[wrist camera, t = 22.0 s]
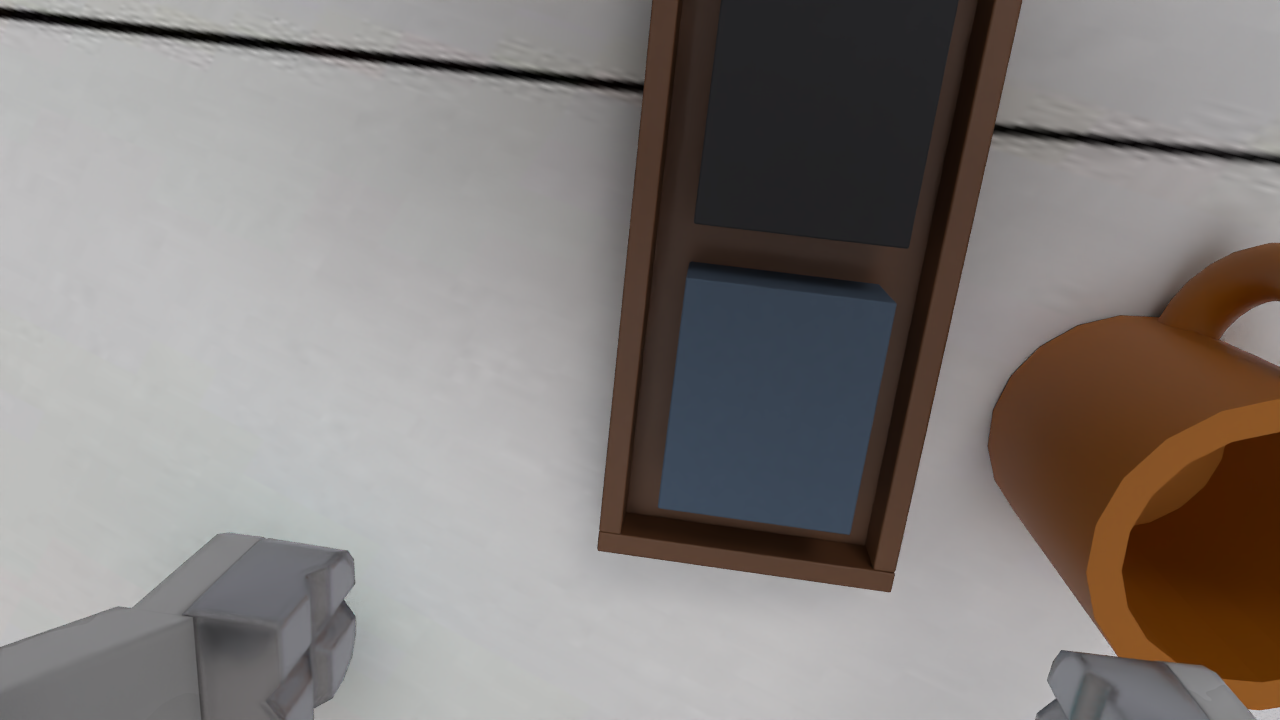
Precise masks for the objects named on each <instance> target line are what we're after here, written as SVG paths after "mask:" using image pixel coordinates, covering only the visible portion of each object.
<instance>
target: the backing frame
mask: <svg viewBox="0 0 1280 720" xmlns="http://www.w3.org/2000/svg"><path fill="white" fill-rule="evenodd" d="M720 4H721V0H652V10H651V20H650V30H649V40H648V50H647V60H646V70H645V80H644V90H643V100H642V110H641V120H640V130H639V139H638V149H637V159H636V169H635V179H634V189H633V199H632V209H631V219H630V229H629V239H628V249H627V259H626V269H625V279H624V289H623V298H622V308H621V318H620V328H619V338H618V348H617V358H616V368H615V378H614V388H613V398H612V408H611V418H610V428H609V438H608V448H607V457H606V467H605V477H604V487H603V497H602V507H601V517H600V527H599V530H600V531H599V537H598V547H597V549H598V551H604V552H611V553H618V554H625V555H632V556H639V557H646V558H653V559H660V560H667V561H674V562H681V563H688V564H695V565H702V566H709V567H716V568H723V569H730V570H737V571H744V572H751V573H758V574H765V575H772V576H779V577H786V578H793V579H800V580H807V581H814V582H821V583H828V584H835V585H842V586H849V587H856V588H863V589H870V590H877V591H884V592H891V589H892V585H893V580H894V576H895V573H894V572H895V570H896V566H897V561H898V557H899V552H900V548H901V543H902V539H903V534H904V530H905V525H906V521H907V516H908V512H909V507H910V503H911V499H912V494H913V490H914V485H915V481H916V476H917V472H918V467H919V463H920V458H921V454H922V449H923V445H924V440H925V436H926V431H927V427H928V422H929V418H930V413H931V409H932V404H933V400H934V395H935V391H936V386H937V382H938V377H939V373H940V368H941V364H942V359H943V355H944V350H945V346H946V341H947V337H948V332H949V328H950V323H951V319H952V314H953V310H954V305H955V301H956V296H957V292H958V287H959V283H960V278H961V274H962V269H963V265H964V260H965V256H966V251H967V247H968V242H969V238H970V234H971V229H972V225H973V220H974V216H975V211H976V207H977V202H978V198H979V193H980V189H981V184H982V180H983V175H984V171H985V166H986V162H987V157H988V153H989V148H990V144H991V139H992V135H993V130H994V126H995V121H996V117H997V112H998V108H999V103H1000V99H1001V94H1002V90H1003V85H1004V81H1005V76H1006V72H1007V67H1008V63H1009V58H1010V54H1011V49H1012V45H1013V40H1014V36H1015V31H1016V27H1017V22H1018V18H1019V13H1020V9H1021V4H1022V0H959V2H958V7H957V12H956V17H955V22H954V27H953V32H952V37H951V42H950V47H949V52H948V57H947V62H946V67H945V72H944V77H943V81H942V86H941V91H940V96H939V101H938V106H937V111H936V116H935V121H934V126H933V131H932V136H931V141H930V146H929V151H928V156H927V161H926V166H925V171H924V176H923V181H922V186H921V191H920V196H919V200H918V205H917V210H916V215H915V220H914V225H913V230H912V235H911V240H910V245H909V248H907V249H904V248H895V247H887V246H879V245H870V244H862V243H853V242H845V241H836V240H828V239H819V238H811V237H802V236H794V235H785V234H777V233H768V232H760V231H751V230H743V229H734V228H726V227H717V226H709V225H700V224H695V223H694V215H695V207H696V199H697V191H698V183H699V175H700V167H701V159H702V150H703V142H704V134H705V126H706V118H707V110H708V102H709V94H710V85H711V77H712V69H713V61H714V53H715V45H716V37H717V29H718V21H719V12H720ZM691 261H692V262H700V263H708V264H716V265H725V266H733V267H741V268H749V269H758V270H766V271H774V272H782V273H790V274H799V275H807V276H815V277H823V278H831V279H840V280H848V281H856V282H864V283H873V284H879V285H880V286H881V287H882V288H883V289H884V291H885V292H886V293H887V294H888V295H889V296H890V297H891V298H892V299H893V300H894V301H895V303H896V304H897V306H896V311H895V316H894V321H893V326H892V331H891V336H890V340H889V345H888V350H887V355H886V360H885V365H884V370H883V375H882V380H881V385H880V390H879V395H878V400H877V405H876V410H875V415H874V419H873V424H872V429H871V434H870V439H869V444H868V449H867V454H866V459H865V464H864V469H863V474H862V479H861V484H860V489H859V494H858V498H857V503H856V508H855V513H854V518H853V523H852V528H851V533H850V535H846V534H839V533H832V532H825V531H817V530H810V529H803V528H796V527H789V526H782V525H775V524H768V523H760V522H753V521H746V520H739V519H732V518H725V517H718V516H710V515H703V514H696V513H689V512H682V511H675V510H668V509H661V508H658V500H659V492H660V484H661V476H662V468H663V460H664V452H665V444H666V436H667V427H668V419H669V411H670V403H671V395H672V387H673V379H674V371H675V363H676V355H677V347H678V339H679V331H680V323H681V315H682V307H683V299H684V290H685V282H686V276H687V272H688V267H689V263H690V262H691Z"/></svg>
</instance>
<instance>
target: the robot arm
mask: <svg viewBox="0 0 1280 720" xmlns="http://www.w3.org/2000/svg"><path fill="white" fill-rule="evenodd" d="M354 585H355V571H354V558H353V557H352V556H351V554H350V553H349V552H348V551H347V550H340V549H334V548H328V547H321V546H315V545H309V544H303V543H296V542H290V541H284V540H277V539H271V538H268V539H266V538H264V537H259V536H252V535H244V534H236V533H222V534H217V535H216V536H215V537H213V538H212V539H211V540H210V541H209V542H208V543H206V544H205V545H204V546H203V547H202V548H201V549H200V550H198V551H197V552H196V553H195V554H194V555H193V556H191V557H190V558H189V559H188V560H187V561H186V562H184V563H183V564H182V565H181V566H180V567H179V568H178V569H176V570H175V571H174V572H173V573H172V574H171V575H169V576H168V577H167V578H166V579H165V580H164V581H162V582H161V583H160V584H159V585H158V586H157V587H156V588H154V589H153V590H152V591H151V592H150V593H149V594H147V595H146V596H145V597H144V598H143V599H142V600H140V601H139V602H138V603H137V604H136V605H135V606H134V607H132V608H126V607H115V608H112V609H109V610H106V611H103V612H100V613H97V614H95V615H92V616H89V617H86V618H83V619H80V620H77V621H74V622H71V623H69V624H66V625H63V626H60V627H57V628H54V629H51V630H48V631H45V632H43V633H40V634H37V635H34V636H31V637H28V638H25V639H22V640H19V641H17V642H14V643H11V644H8V645H5V646H2V647H0V720H314V708H316V707H317V706H319V705H321V704H323V703H325V702H327V701H328V700H330V699H332V698H333V697H334V695H335V693H336V692H337V690H338V688H339V687H340V685H341V684H342V682H343V680H344V678H345V675H346V672H347V669H348V666H349V664H350V661H351V658H352V655H353V648H354V641H355V635H356V616H355V615H354V614H353V612H352V611H351V609H350V608H349V607H348V605H347V604H346V602H345V601H344V598H345V597H346V596H347V594H348V593H349V591H350V590H351V589H352V587H353V586H354ZM1047 682H1048V684H1049V686H1050V687H1051V689H1052V691H1053V693H1054V695H1055V697H1056V699H1055V700H1053V701H1052V702H1051V703H1050V704H1048V705H1047V706H1046V707H1044V708H1043V709H1042V710H1040V711H1039V712H1038V713H1037V715H1036V719H1035V720H1257V719H1256V718H1255V717H1254V716H1253V715H1252V713H1251V712H1250V711H1249V710H1248V709H1247V708H1246V707H1245V705H1244V704H1243V703H1242V702H1241V701H1240V700H1239V698H1238V697H1237V696H1236V695H1235V694H1234V693H1233V692H1232V690H1231V689H1230V688H1229V687H1228V686H1227V685H1226V684H1225V682H1224V681H1223V680H1222V679H1221V678H1220V677H1219V675H1218V674H1217V673H1216V672H1214V671H1212V670H1210V669H1208V668H1206V667H1204V666H1203V665H1194V664H1184V663H1175V662H1165V661H1149V660H1141V659H1132V658H1124V657H1115V656H1107V655H1098V654H1090V653H1082V652H1073V651H1065V650H1061V651H1060V653H1059V654H1058V655H1057V657H1056V658H1055V659H1054V661H1053V663H1052V666H1051V669H1050V672H1049V675H1048V678H1047Z"/></svg>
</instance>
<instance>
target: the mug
mask: <svg viewBox="0 0 1280 720" xmlns="http://www.w3.org/2000/svg"><path fill="white" fill-rule="evenodd" d="M1271 301H1280V243H1268V244H1264V245H1260V246H1256V247H1252V248H1248V249H1244V250H1240V251H1237V252H1234V253H1232V254H1230V255H1228V256H1226V257H1224V258H1222V259H1220V260H1218V261H1216V262H1214V263H1212V264H1210V265H1209V266H1207V267H1206V268H1205V269H1203V270H1202V271H1201V272H1199V273H1198V274H1197V275H1196V276H1194V277H1193V278H1192V279H1190V280H1189V281H1188V282H1187V283H1186V284H1185V285H1184V286H1183V287H1182V289H1181V290H1180V291H1179V292H1178V293H1177V294H1176V295H1175V296H1174V297H1173V298H1172V299H1171V301H1170V302H1169V304H1168V305H1167V307H1166V308H1165V310H1164V311H1163V313H1162V314H1161V316H1160V317H1145V316H1124V315H1120V316H1116V317H1111V318H1107V319H1103V320H1099V321H1095V322H1090V323H1086V324H1082V325H1078V326H1076V327H1074V328H1073V329H1071V330H1069V331H1067V332H1065V333H1064V334H1062V335H1060V336H1058V337H1056V338H1055V339H1053V340H1051V341H1049V342H1047V343H1046V344H1044V345H1042V346H1040V347H1039V348H1038V349H1037V350H1036V351H1035V352H1034V353H1033V354H1032V355H1031V356H1030V357H1029V358H1028V359H1027V360H1026V361H1025V362H1024V363H1023V364H1022V365H1021V366H1020V367H1019V368H1018V369H1017V370H1016V371H1015V372H1014V373H1013V374H1012V375H1011V377H1010V379H1009V381H1008V383H1007V385H1006V387H1005V389H1004V390H1003V392H1002V394H1001V396H1000V398H999V400H998V402H997V404H996V406H995V408H994V410H993V415H992V422H991V428H990V434H989V441H988V450H989V455H990V460H991V465H992V470H993V475H994V480H995V481H996V483H997V485H998V486H999V488H1000V489H1001V491H1002V493H1003V494H1004V496H1005V497H1006V499H1007V501H1008V502H1009V504H1010V506H1011V507H1012V509H1013V510H1014V512H1015V513H1016V514H1017V516H1018V517H1019V519H1020V520H1021V521H1022V523H1023V524H1024V526H1025V527H1026V528H1027V530H1028V531H1029V533H1030V534H1031V535H1032V537H1033V538H1034V540H1035V541H1036V542H1037V544H1038V545H1039V547H1040V548H1041V549H1042V551H1043V552H1044V554H1045V555H1046V556H1047V558H1048V559H1049V561H1050V562H1051V563H1052V565H1053V566H1054V568H1055V569H1056V570H1057V572H1058V573H1059V575H1060V576H1061V577H1062V579H1063V580H1064V582H1065V583H1066V584H1067V586H1068V587H1069V589H1070V590H1071V591H1072V593H1073V594H1074V596H1075V597H1076V598H1077V600H1078V601H1079V603H1080V604H1081V605H1082V607H1083V608H1084V610H1085V611H1086V612H1087V614H1088V615H1089V617H1090V618H1091V619H1092V621H1093V622H1094V624H1095V625H1096V626H1097V628H1098V629H1099V631H1100V632H1101V633H1102V635H1103V636H1104V638H1105V639H1106V640H1107V642H1108V643H1109V645H1110V646H1111V647H1112V649H1113V650H1114V652H1115V653H1116V654H1117V656H1118V657H1124V658H1132V659H1141V660H1149V661H1165V662H1175V663H1184V664H1194V665H1203V666H1204V667H1206V668H1208V669H1210V670H1212V671H1214V672H1216V673H1217V674H1218V675H1219V677H1220V678H1221V679H1222V680H1223V681H1224V682H1225V684H1226V685H1227V686H1228V687H1229V688H1230V689H1231V690H1232V692H1233V693H1234V694H1235V695H1236V696H1237V697H1238V698H1239V700H1240V701H1241V702H1242V703H1243V704H1244V705H1245V707H1246V708H1247V709H1252V710H1264V709H1271V708H1278V707H1280V367H1279V366H1277V365H1274V364H1272V363H1270V362H1268V361H1266V360H1263V359H1261V358H1259V357H1257V356H1254V355H1252V354H1250V353H1248V352H1246V351H1243V350H1241V349H1239V348H1237V347H1234V346H1232V345H1230V344H1228V343H1226V342H1223V341H1221V340H1219V339H1220V338H1221V336H1222V335H1223V333H1224V332H1225V330H1226V329H1227V328H1228V327H1229V326H1230V325H1231V324H1232V323H1233V322H1234V321H1235V320H1236V319H1237V318H1238V317H1240V316H1241V315H1243V314H1244V313H1246V312H1247V311H1249V310H1250V309H1252V308H1254V307H1256V306H1258V305H1261V304H1263V303H1266V302H1271Z"/></svg>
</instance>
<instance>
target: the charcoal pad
mask: <svg viewBox="0 0 1280 720" xmlns="http://www.w3.org/2000/svg"><path fill="white" fill-rule="evenodd" d="M958 2H959V0H721V4H720V12H719V21H718V29H717V37H716V45H715V53H714V61H713V69H712V77H711V85H710V94H709V102H708V110H707V118H706V126H705V134H704V142H703V150H702V159H701V167H700V175H699V183H698V191H697V199H696V207H695V215H694V223H695V224H700V225H709V226H717V227H726V228H734V229H743V230H751V231H760V232H768V233H777V234H785V235H794V236H802V237H811V238H819V239H828V240H836V241H845V242H853V243H862V244H870V245H879V246H887V247H895V248H904V249H907V248H909V245H910V240H911V235H912V230H913V225H914V220H915V215H916V210H917V205H918V200H919V196H920V191H921V186H922V181H923V176H924V171H925V166H926V161H927V156H928V151H929V146H930V141H931V136H932V131H933V126H934V121H935V116H936V111H937V106H938V101H939V96H940V91H941V86H942V81H943V77H944V72H945V67H946V62H947V57H948V52H949V47H950V42H951V37H952V32H953V27H954V22H955V17H956V12H957V7H958Z"/></svg>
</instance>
